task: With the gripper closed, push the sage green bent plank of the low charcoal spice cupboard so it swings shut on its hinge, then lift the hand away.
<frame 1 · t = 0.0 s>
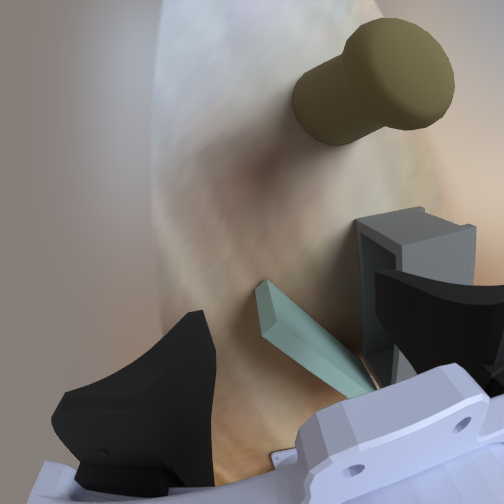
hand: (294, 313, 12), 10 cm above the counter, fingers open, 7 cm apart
cork: (333, 104, 19), on the counter
sage green bent plank: (323, 351, 20), point 3 cm above the counter, hinge at 35.0°
cupboard: (392, 288, 23), on the counter
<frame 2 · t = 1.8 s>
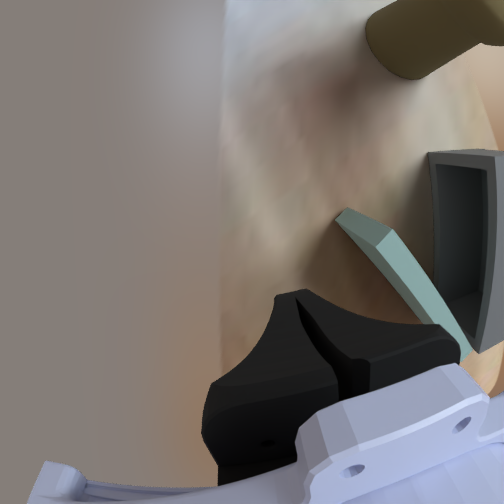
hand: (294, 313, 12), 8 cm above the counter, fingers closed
cork: (401, 43, 16), on the counter
sage green bent plank: (412, 288, 17), point 4 cm above the counter, hinge at 35.0°
cupboard: (460, 230, 20), on the counter
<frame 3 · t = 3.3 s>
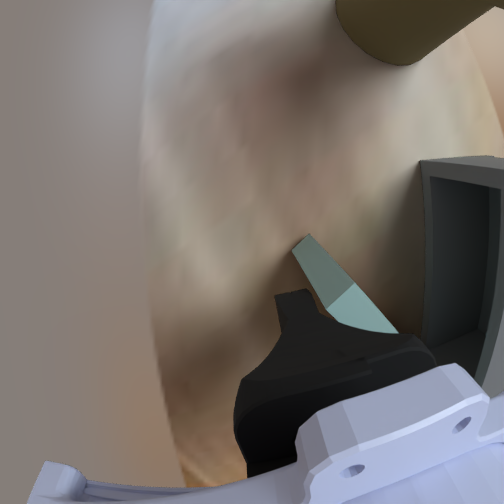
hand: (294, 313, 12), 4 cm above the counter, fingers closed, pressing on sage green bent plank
cork: (384, 20, 12), on the counter
sage green bent plank: (390, 342, 13), point 4 cm above the counter, hinge at 34.0°, touching gripper
cupboard: (459, 259, 16), on the counter
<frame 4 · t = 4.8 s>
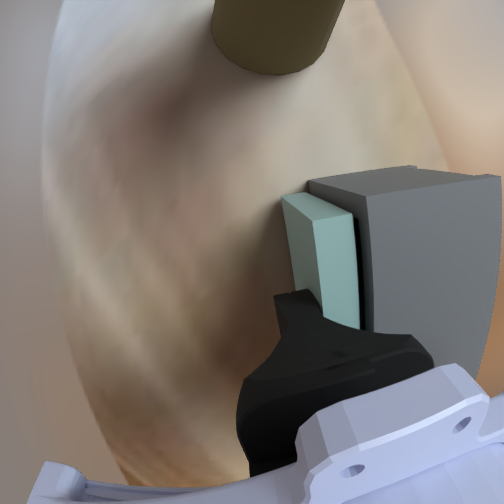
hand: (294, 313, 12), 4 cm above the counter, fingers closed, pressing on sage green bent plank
cork: (270, 26, 12), on the counter
sage green bent plank: (323, 336, 13), point 4 cm above the counter, hinge at -0.6°, touching gripper
cupboard: (373, 286, 16), on the counter
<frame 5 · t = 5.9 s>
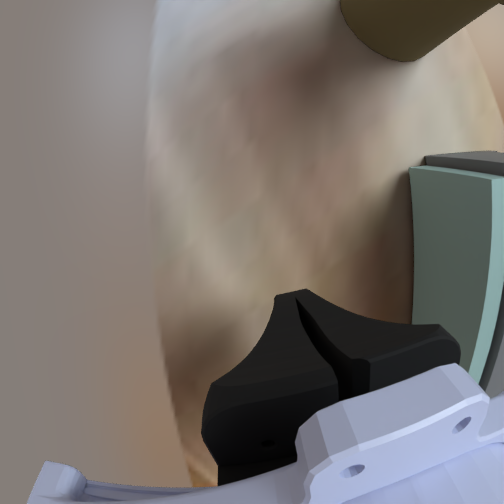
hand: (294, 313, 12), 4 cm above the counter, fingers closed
cork: (387, 17, 12), on the counter
sage green bent plank: (452, 291, 13), point 3 cm above the counter, hinge at -0.7°
cupboard: (464, 254, 16), on the counter
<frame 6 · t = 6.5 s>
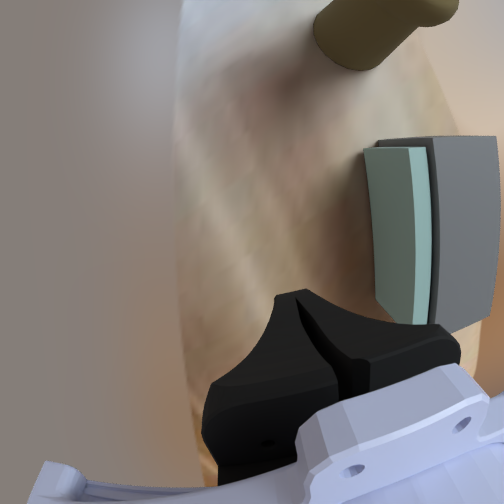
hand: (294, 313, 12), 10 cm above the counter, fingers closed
cork: (350, 36, 17), on the counter
sage green bent plank: (398, 238, 18), point 4 cm above the counter, hinge at -0.7°
cupboard: (417, 217, 22), on the counter
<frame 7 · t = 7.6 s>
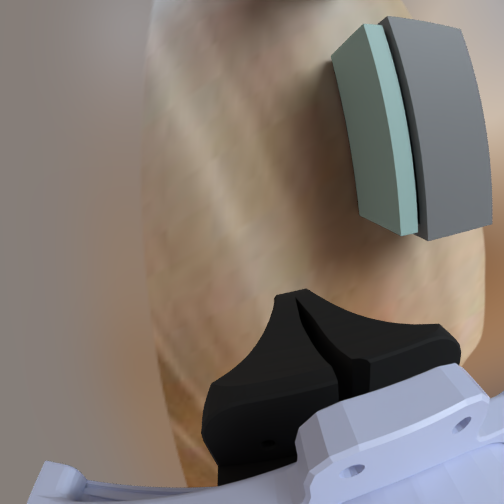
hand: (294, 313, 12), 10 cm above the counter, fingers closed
sage green bent plank: (373, 129, 16), point 4 cm above the counter, hinge at -0.7°
cupboard: (398, 129, 20), on the counter
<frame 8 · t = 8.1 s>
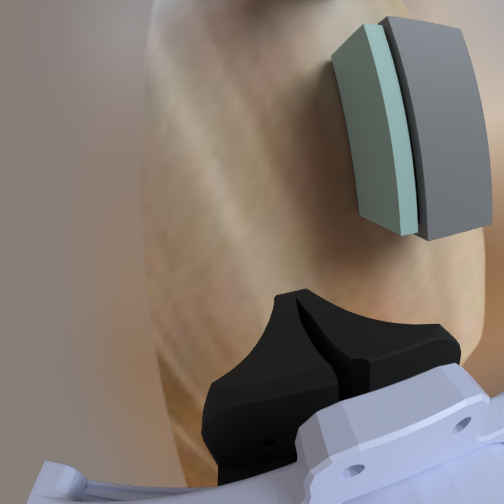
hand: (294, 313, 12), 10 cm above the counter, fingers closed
sage green bent plank: (373, 129, 16), point 4 cm above the counter, hinge at -0.7°
cupboard: (398, 129, 20), on the counter
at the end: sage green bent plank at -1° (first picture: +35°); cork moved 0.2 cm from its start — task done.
